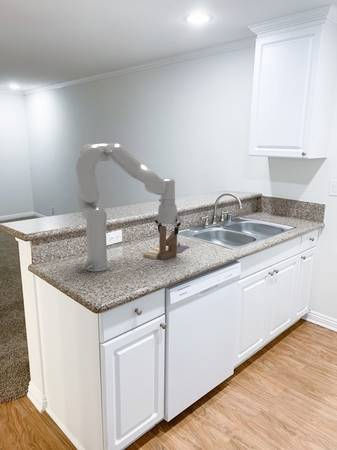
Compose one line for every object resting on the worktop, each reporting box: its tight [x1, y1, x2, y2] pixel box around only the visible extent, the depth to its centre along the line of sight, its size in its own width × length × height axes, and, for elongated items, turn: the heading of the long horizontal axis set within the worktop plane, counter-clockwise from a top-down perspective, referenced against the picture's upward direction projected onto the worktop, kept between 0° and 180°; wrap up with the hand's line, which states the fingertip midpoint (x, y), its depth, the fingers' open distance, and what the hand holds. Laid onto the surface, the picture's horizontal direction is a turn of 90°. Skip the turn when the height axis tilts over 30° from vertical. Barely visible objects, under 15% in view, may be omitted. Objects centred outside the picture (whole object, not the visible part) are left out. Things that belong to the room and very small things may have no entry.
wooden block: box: [157, 225, 178, 261], centre depth 186 cm, size 4×11×18 cm, turn 132°
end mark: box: [177, 244, 190, 254], centre depth 203 cm, size 14×6×1 cm, turn 153°
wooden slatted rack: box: [142, 241, 181, 260], centre depth 199 cm, size 30×8×2 cm, turn 153°
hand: (168, 233), depth 185 cm, fingers open, 9 cm apart
